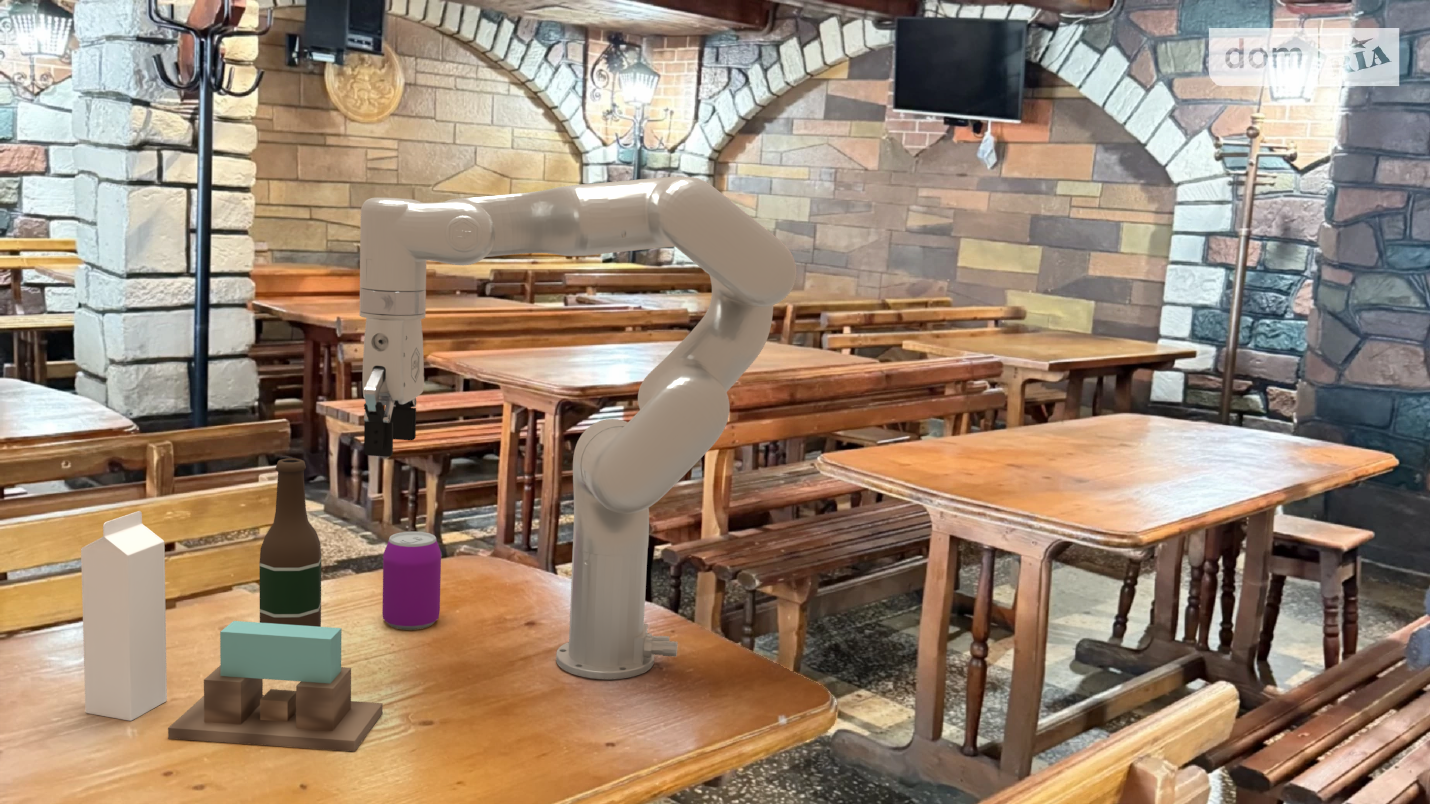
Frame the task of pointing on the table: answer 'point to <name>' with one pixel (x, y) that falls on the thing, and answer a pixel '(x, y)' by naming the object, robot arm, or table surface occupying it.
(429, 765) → the table surface
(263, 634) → the teal bar
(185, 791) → the table surface
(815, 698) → the table surface
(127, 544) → the milk
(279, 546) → the beer bottle
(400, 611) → the beverage can
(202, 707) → the ledge stand
